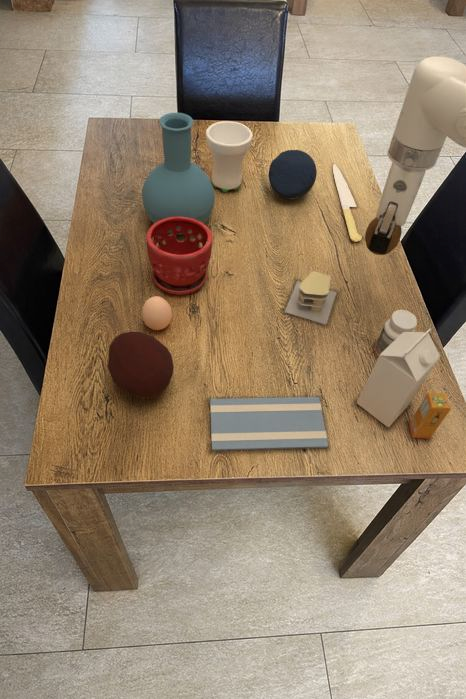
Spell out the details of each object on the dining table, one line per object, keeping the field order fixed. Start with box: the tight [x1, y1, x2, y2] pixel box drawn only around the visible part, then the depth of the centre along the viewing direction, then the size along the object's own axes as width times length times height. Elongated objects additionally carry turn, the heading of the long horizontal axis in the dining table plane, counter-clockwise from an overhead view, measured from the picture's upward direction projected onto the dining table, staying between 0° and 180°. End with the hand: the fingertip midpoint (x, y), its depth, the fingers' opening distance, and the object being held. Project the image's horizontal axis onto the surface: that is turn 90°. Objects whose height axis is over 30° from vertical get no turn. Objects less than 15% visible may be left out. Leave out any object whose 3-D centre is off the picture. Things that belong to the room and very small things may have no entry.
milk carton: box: [356, 328, 441, 428], centre depth 85 cm, size 7×7×19 cm
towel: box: [209, 396, 329, 452], centre depth 88 cm, size 20×10×1 cm, turn 93°
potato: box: [107, 331, 175, 399], centre depth 88 cm, size 11×13×10 cm
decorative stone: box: [268, 149, 318, 200], centre depth 126 cm, size 12×12×10 cm
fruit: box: [364, 214, 403, 256], centre depth 91 cm, size 6×6×8 cm
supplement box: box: [408, 392, 452, 440], centre depth 86 cm, size 3×3×10 cm
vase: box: [141, 112, 216, 236], centre depth 111 cm, size 16×16×25 cm
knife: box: [332, 163, 363, 243], centre depth 129 cm, size 1×33×4 cm
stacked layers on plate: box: [284, 270, 337, 326], centre depth 105 cm, size 10×9×6 cm
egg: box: [141, 295, 173, 331], centre depth 98 cm, size 6×6×8 cm
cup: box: [205, 120, 254, 193], centre depth 125 cm, size 11×11×14 cm
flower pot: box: [146, 217, 213, 295], centre depth 104 cm, size 13×13×12 cm
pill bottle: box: [374, 309, 418, 357], centre depth 96 cm, size 6×6×10 cm
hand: (381, 239), depth 91 cm, fingers closed on fruit, 6 cm apart
